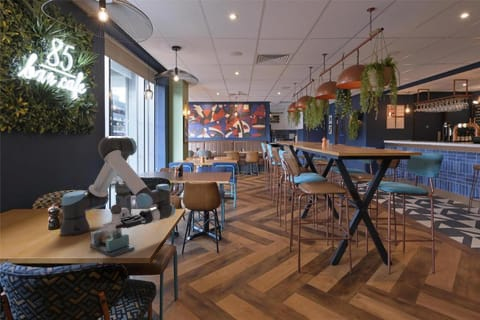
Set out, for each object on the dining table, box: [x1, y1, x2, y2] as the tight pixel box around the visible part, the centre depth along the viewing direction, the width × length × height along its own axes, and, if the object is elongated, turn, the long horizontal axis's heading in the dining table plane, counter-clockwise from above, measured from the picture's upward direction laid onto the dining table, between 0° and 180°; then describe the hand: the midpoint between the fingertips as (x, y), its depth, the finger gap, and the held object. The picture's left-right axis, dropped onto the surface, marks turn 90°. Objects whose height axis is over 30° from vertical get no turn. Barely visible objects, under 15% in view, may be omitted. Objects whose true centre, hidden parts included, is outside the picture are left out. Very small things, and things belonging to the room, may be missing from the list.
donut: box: [121, 208, 131, 218], centre depth 174 cm, size 10×4×10 cm, turn 160°
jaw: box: [106, 203, 130, 252], centre depth 129 cm, size 5×10×21 cm, turn 144°
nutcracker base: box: [89, 228, 135, 259], centre depth 133 cm, size 22×11×8 cm, turn 54°
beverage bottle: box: [114, 181, 132, 217], centre depth 195 cm, size 10×13×25 cm
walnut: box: [102, 234, 111, 243], centre depth 136 cm, size 4×4×4 cm
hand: (105, 227), depth 125 cm, fingers closed on jaw, 4 cm apart
